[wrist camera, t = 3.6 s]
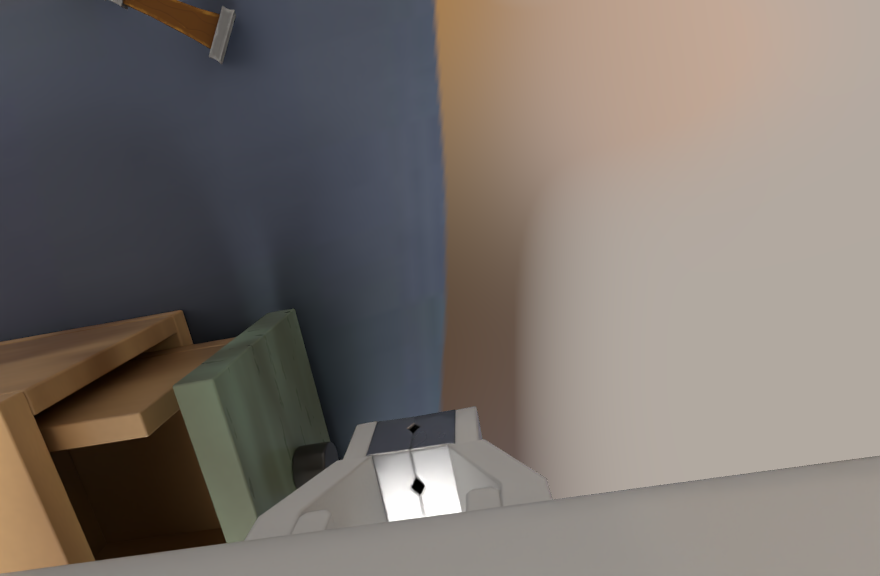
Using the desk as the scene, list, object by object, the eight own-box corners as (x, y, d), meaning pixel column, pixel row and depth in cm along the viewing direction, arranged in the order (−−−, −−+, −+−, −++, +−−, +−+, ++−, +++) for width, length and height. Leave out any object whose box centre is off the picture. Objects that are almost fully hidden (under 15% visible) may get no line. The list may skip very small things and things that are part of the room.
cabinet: (183, 309, 20) (-4, 404, 12) (256, 532, 23) (144, 737, 15) (-80, 355, 21) (-421, 474, 13) (20, 565, 24) (-211, 775, 16)
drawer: (323, 302, 19) (254, 372, 13) (377, 517, 22) (343, 669, 15) (37, 353, 20) (-167, 441, 14) (119, 553, 23) (-19, 711, 16)
